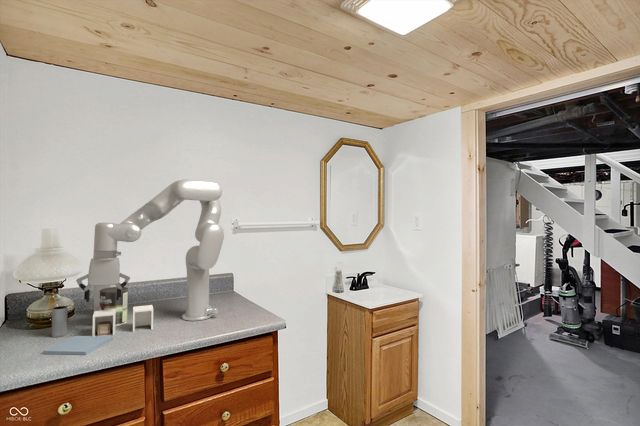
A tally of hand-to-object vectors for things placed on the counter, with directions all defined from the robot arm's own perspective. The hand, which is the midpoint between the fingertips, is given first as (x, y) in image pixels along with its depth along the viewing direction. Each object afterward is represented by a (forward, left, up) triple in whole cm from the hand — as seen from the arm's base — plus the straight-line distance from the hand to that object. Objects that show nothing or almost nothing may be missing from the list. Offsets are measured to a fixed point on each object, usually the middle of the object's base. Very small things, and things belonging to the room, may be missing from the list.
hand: (102, 300), depth 130 cm
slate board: (-1, +13, -13) cm, 18 cm away
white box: (-1, 0, -13) cm, 13 cm away
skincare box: (+13, -23, -13) cm, 30 cm away
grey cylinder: (+14, +3, -13) cm, 20 cm away
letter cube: (-1, 0, -13) cm, 13 cm away
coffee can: (+3, -12, -13) cm, 18 cm away
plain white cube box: (-12, -7, -13) cm, 19 cm away
